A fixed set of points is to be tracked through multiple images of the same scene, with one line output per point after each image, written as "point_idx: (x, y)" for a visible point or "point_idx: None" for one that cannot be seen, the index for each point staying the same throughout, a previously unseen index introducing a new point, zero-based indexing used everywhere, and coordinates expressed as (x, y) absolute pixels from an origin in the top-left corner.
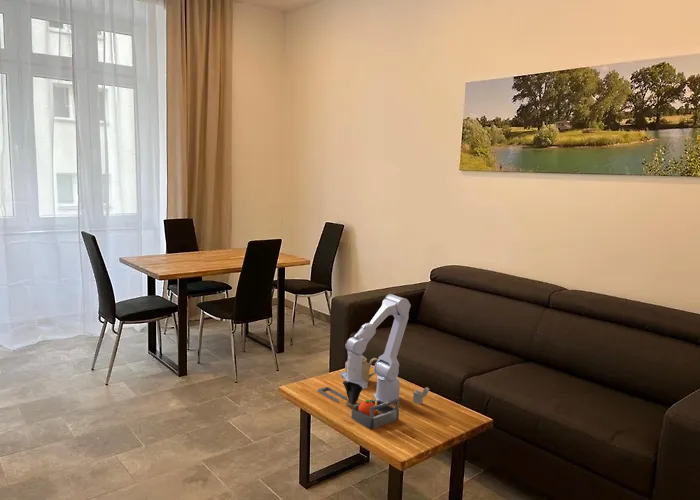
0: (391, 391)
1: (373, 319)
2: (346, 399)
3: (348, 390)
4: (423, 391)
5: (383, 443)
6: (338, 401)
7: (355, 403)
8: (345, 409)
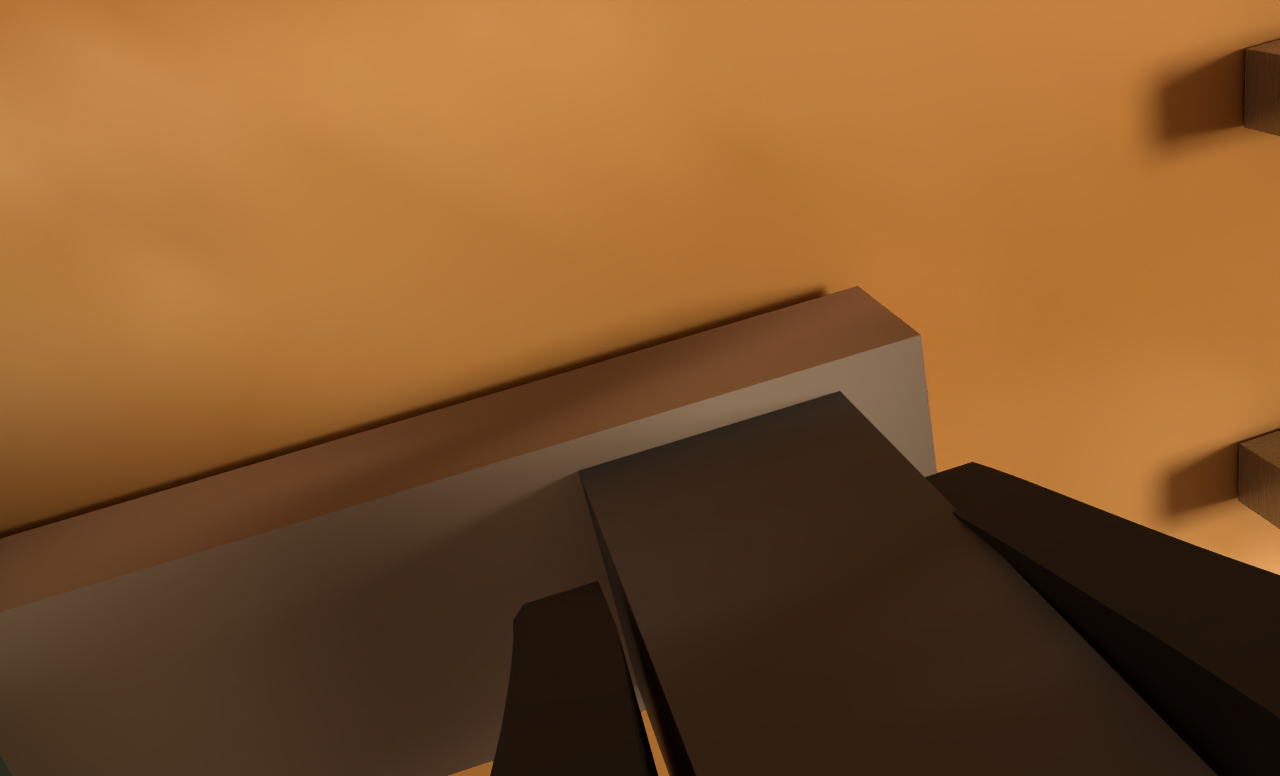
0: None
1: None
2: (1241, 478)
3: (1251, 769)
4: None
5: None
6: (1259, 127)
7: None
8: (527, 96)
